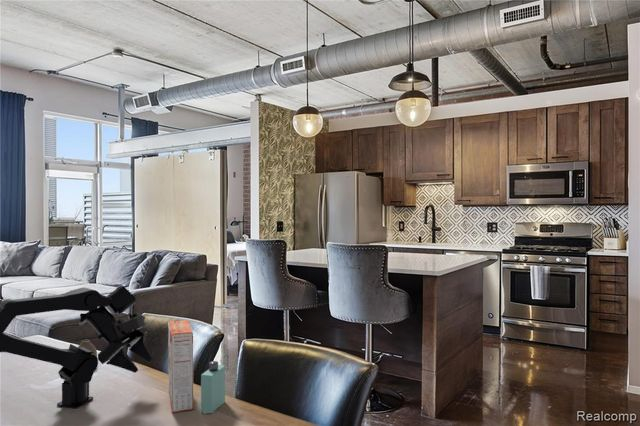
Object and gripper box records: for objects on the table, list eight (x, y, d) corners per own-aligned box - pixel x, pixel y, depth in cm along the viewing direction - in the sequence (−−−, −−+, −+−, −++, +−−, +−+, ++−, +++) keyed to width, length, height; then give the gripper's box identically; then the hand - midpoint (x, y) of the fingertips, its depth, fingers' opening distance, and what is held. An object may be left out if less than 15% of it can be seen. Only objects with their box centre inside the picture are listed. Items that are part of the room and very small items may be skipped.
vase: (101, 363, 160) (101, 337, 160) (89, 370, 153) (89, 343, 153) (82, 362, 160) (82, 337, 160) (69, 369, 154) (69, 343, 153)
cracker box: (167, 393, 135) (167, 320, 135) (189, 390, 137) (189, 319, 137) (169, 413, 122) (170, 333, 122) (193, 410, 124) (194, 331, 124)
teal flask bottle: (211, 414, 122) (211, 368, 122) (201, 412, 122) (201, 367, 122) (225, 401, 129) (225, 358, 129) (215, 400, 130) (215, 357, 130)
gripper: (109, 312, 123) (150, 356, 122) (141, 299, 141) (176, 337, 141) (80, 342, 123) (120, 385, 123) (115, 324, 142) (150, 362, 141)
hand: (144, 365), depth 132 cm, fingers open, 9 cm apart
